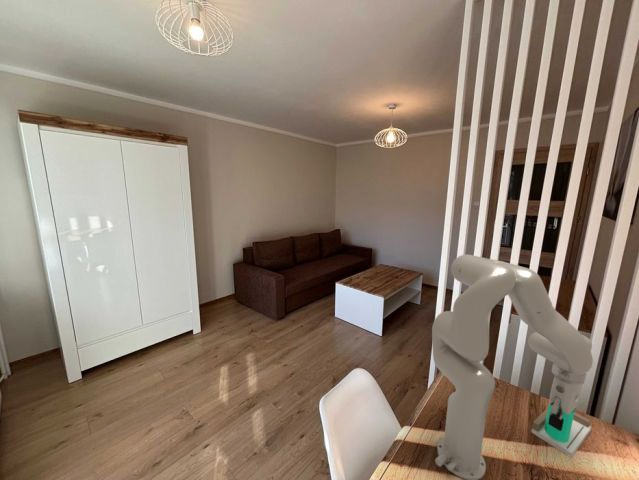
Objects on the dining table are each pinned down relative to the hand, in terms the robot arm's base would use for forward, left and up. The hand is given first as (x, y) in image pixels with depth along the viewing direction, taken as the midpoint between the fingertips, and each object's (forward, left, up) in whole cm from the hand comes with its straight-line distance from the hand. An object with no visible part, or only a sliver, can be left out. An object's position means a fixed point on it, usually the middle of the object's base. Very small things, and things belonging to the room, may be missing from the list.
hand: (558, 422), depth 84 cm
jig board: (+5, 0, -6) cm, 7 cm away
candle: (0, 0, -4) cm, 4 cm away
